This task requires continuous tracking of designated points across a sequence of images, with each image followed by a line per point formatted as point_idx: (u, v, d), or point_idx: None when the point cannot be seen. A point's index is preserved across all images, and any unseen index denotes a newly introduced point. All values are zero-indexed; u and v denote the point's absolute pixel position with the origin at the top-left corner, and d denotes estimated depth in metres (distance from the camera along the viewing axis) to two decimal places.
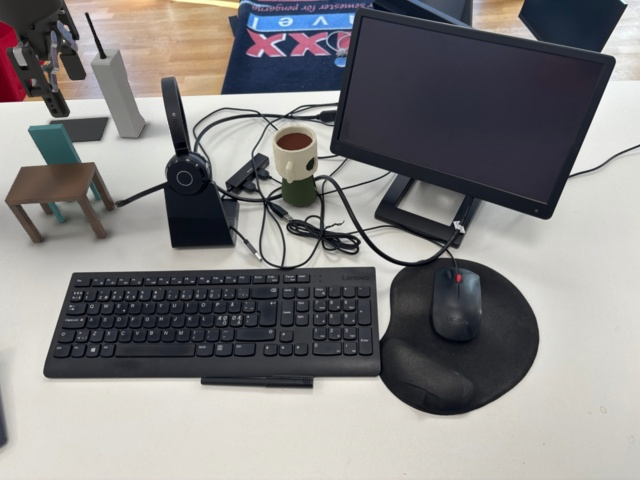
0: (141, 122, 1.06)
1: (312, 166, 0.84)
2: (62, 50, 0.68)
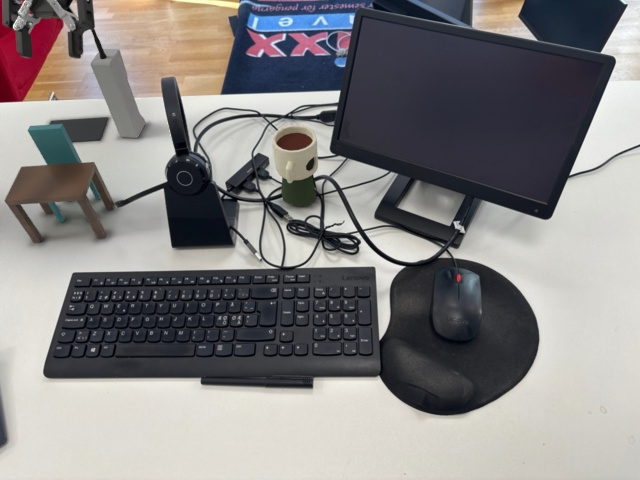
0: (141, 122, 1.06)
1: (312, 166, 0.84)
2: (23, 28, 0.82)
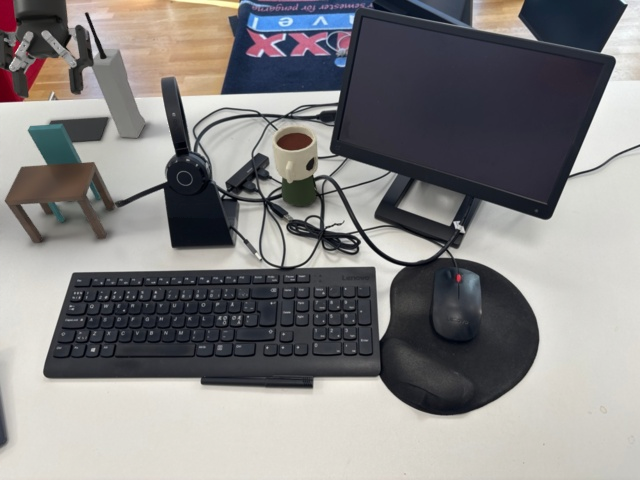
0: (141, 122, 1.06)
1: (312, 166, 0.84)
2: (19, 68, 0.83)
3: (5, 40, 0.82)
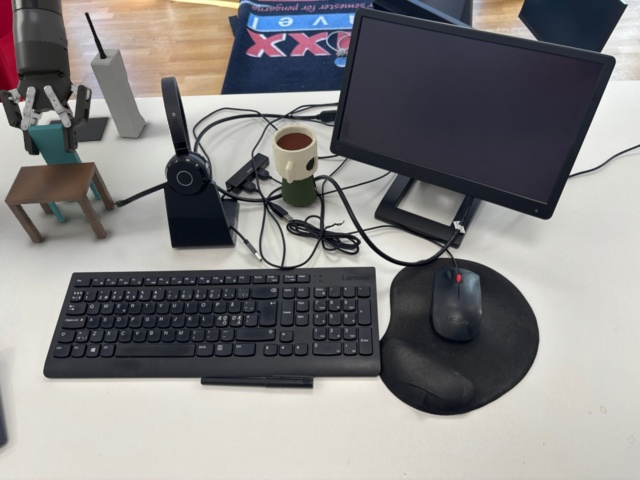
0: (141, 122, 1.06)
1: (312, 166, 0.84)
2: None
3: (10, 98, 0.81)
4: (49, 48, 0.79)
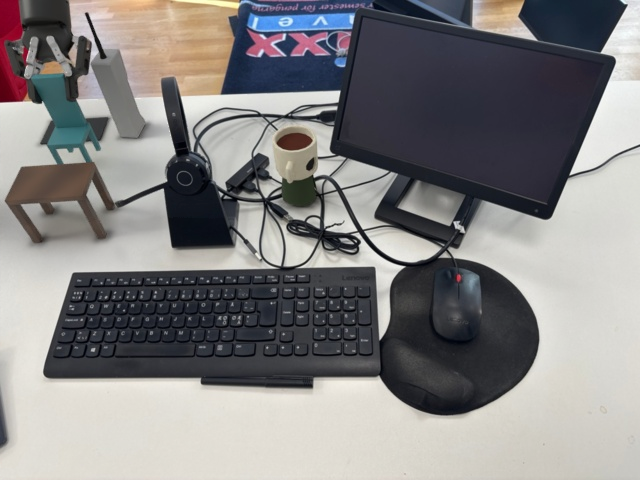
0: (141, 122, 1.06)
1: (312, 166, 0.84)
2: None
3: (14, 48, 0.86)
4: None
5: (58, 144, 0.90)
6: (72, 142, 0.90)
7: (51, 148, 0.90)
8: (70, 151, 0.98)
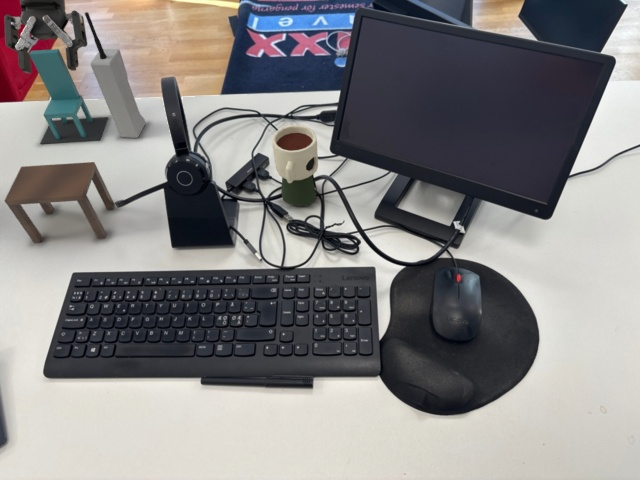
0: (141, 122, 1.06)
1: (312, 166, 0.84)
2: (24, 48, 0.97)
3: (12, 23, 0.96)
4: None
5: (54, 113, 1.01)
6: (66, 112, 1.01)
7: (47, 117, 1.01)
8: (64, 122, 1.08)
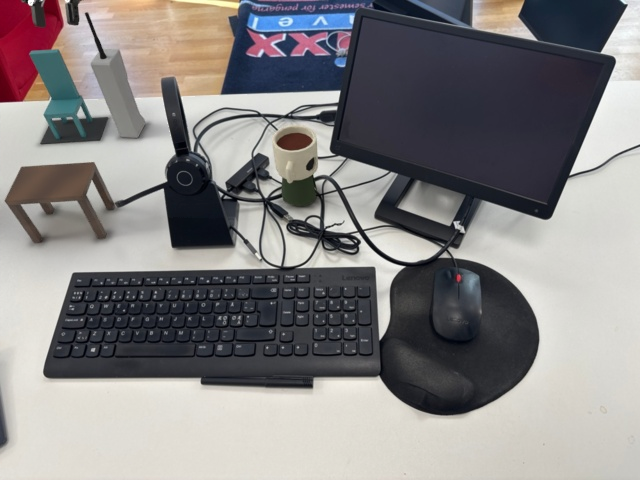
0: (141, 122, 1.06)
1: (312, 166, 0.84)
2: (36, 3, 1.02)
3: None
4: None
5: (54, 113, 1.01)
6: (66, 112, 1.01)
7: (47, 117, 1.01)
8: (64, 122, 1.08)
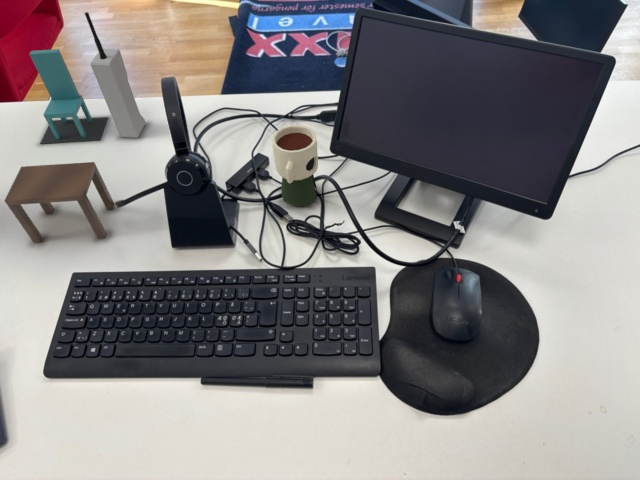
0: (141, 122, 1.06)
1: (312, 166, 0.84)
2: None
3: None
4: None
5: (54, 113, 1.01)
6: (66, 112, 1.01)
7: (47, 117, 1.01)
8: (64, 122, 1.08)
